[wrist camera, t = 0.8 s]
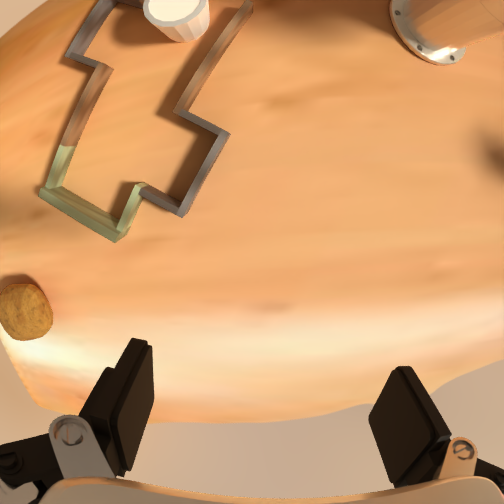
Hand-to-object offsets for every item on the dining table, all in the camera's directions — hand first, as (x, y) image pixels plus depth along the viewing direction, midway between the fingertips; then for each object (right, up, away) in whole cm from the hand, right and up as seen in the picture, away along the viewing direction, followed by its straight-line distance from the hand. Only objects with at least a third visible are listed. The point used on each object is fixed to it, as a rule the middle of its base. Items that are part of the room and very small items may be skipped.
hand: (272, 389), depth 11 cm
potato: (-36, -3, +30) cm, 47 cm away
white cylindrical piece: (-9, +33, +19) cm, 39 cm away
